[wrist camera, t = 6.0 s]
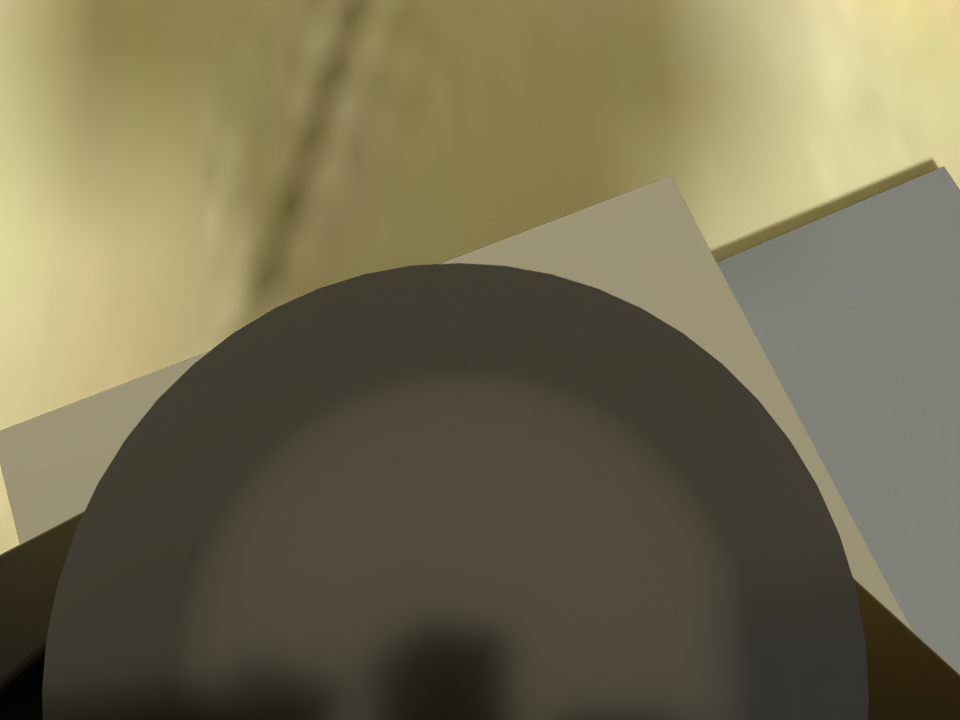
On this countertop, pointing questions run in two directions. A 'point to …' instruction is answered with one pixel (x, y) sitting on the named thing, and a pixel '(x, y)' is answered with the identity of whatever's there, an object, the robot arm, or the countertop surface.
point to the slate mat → (877, 376)
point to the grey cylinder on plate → (459, 504)
